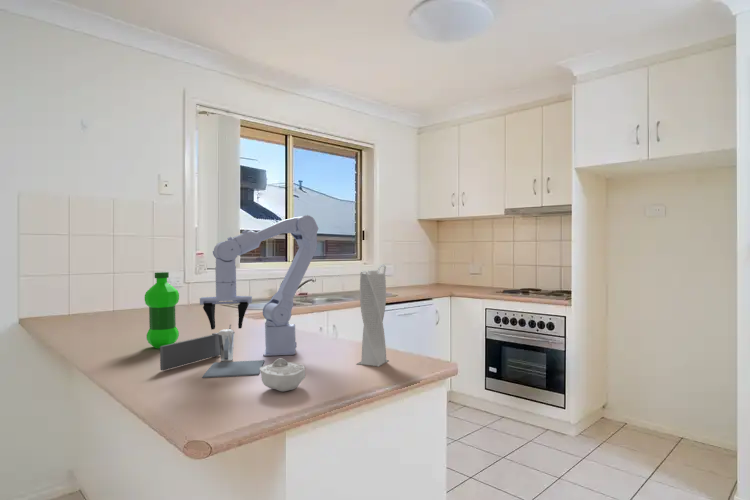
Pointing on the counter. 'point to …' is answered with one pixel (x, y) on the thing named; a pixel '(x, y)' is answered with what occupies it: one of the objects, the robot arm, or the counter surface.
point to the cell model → (282, 375)
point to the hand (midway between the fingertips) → (226, 328)
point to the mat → (234, 369)
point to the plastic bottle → (162, 311)
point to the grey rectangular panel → (189, 351)
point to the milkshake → (226, 344)
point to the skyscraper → (373, 317)
